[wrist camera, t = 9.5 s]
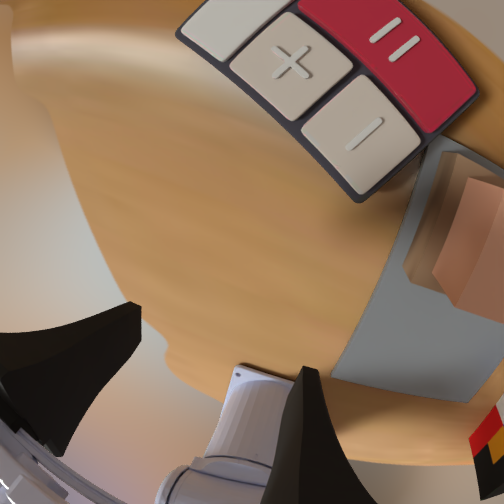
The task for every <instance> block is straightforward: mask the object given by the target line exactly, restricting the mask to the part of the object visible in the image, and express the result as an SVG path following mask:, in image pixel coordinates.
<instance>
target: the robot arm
mask: <svg viewBox="0 0 504 504" xmlns="http://www.w3.org/2000/svg"><path fill="white" fill-rule="evenodd" d="M140 342H141V306H140V305H137V304H135V303H133V302H131V301H130V302H127V303H124V304H122V305H119V306H117V307H114V308H112V309H109V310H107V311H104V312H101V313H99V314H96V315H94V316H91V317H88V318H85V319H83V320H79V321H77V322H73V323H71V324H67V325H63V326H60V327H55V328H51V329H46V330H39V331H32V332H21V333H0V482H1V483H2V484H3V486H2V487H1V488H0V504H69V503H68V502H67V501H65V498H66V497H67V496H68V492H67V491H66V490H65V489H64V488H62V487H61V486H60V485H59V484H58V483H57V482H56V481H55V480H54V479H53V478H52V477H51V476H50V475H49V474H48V473H46V472H45V471H44V470H43V469H42V468H41V467H40V466H38V462H39V463H41V464H42V465H43V466H44V467H46V468H47V469H48V470H49V471H50V472H52V473H53V474H54V475H55V476H57V477H58V478H59V479H61V480H62V481H63V482H65V483H66V484H67V485H69V486H70V487H72V488H73V489H74V490H76V491H77V492H79V493H80V494H82V495H83V496H85V497H86V498H88V499H89V500H91V501H92V502H94V503H96V504H127V503H125V502H123V501H121V500H119V499H118V498H116V497H114V496H112V495H110V494H109V493H107V492H105V491H104V490H102V489H100V488H99V487H97V486H96V485H94V484H92V483H91V482H89V481H88V480H86V479H85V478H83V477H82V476H80V475H79V474H77V473H76V472H75V471H73V470H72V469H70V468H69V467H68V466H66V465H65V464H64V463H62V462H61V461H60V460H58V459H57V458H56V457H62V456H63V455H64V453H65V450H66V448H67V446H68V444H69V442H70V440H71V438H72V436H73V434H74V432H75V430H76V428H77V426H78V425H79V423H80V421H81V420H82V418H83V416H84V415H85V413H86V411H87V410H88V408H89V407H90V405H91V404H92V402H93V401H94V399H95V398H96V396H97V395H98V393H99V392H100V391H101V390H102V388H103V387H104V386H105V385H106V384H107V383H108V382H109V381H110V379H111V378H112V377H113V376H114V375H115V374H116V373H117V372H118V370H119V369H120V368H121V367H122V366H123V365H124V364H125V363H126V361H127V360H128V359H129V358H130V357H131V355H132V354H133V352H134V351H135V349H136V348H137V346H138V345H139V343H140ZM238 373H240V374H238ZM36 441H37V442H36ZM42 446H43V447H42ZM47 450H48V451H49V452H48V451H47ZM52 454H53V455H54V456H53V455H52ZM155 504H377V503H376V502H375V501H374V499H373V498H372V497H371V496H370V495H369V493H368V492H367V490H366V489H365V488H364V486H363V485H362V483H361V482H360V481H359V479H358V477H357V475H356V474H355V473H354V471H353V469H352V467H351V466H350V464H349V462H348V460H347V458H346V456H345V454H344V452H343V450H342V448H341V446H340V443H339V441H338V439H337V436H336V434H335V431H334V428H333V425H332V423H331V420H330V417H329V413H328V410H327V406H326V403H325V399H324V395H323V391H322V386H321V382H320V376H319V372H318V370H317V369H314V368H310V367H306V366H303V367H302V369H301V371H300V373H299V375H298V377H297V379H296V381H295V382H293V381H290V380H286V379H283V378H280V377H276V376H273V375H270V374H267V373H264V372H260V371H257V370H254V369H251V368H248V367H245V366H243V365H236V366H235V368H234V371H233V374H232V378H231V381H230V385H229V388H228V392H227V395H226V398H225V402H224V406H223V409H222V412H221V416H220V420H219V423H218V425H217V427H216V429H215V432H214V434H213V436H212V438H211V440H210V443H209V445H208V447H207V449H206V451H205V454H204V456H203V458H200V457H194V459H193V461H192V463H191V465H190V466H188V465H181V466H180V467H177V468H176V469H175V470H173V471H171V472H170V473H169V474H168V475H167V476H166V478H165V479H164V480H163V482H162V484H161V485H160V488H159V490H158V492H157V495H156V499H155Z"/></svg>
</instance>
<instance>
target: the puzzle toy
mask: <svg viewBox="0 0 504 504" xmlns="http://www.w3.org/2000/svg"><path fill="white" fill-rule="evenodd" d="M469 442H470V446H471V450H472V455H473V459H474V464H475V469H476V474H477V480H478V486H479V493H480V500H485V499H488V498H491V497H494V496H497V495H500V494H502V493H504V393H503V395H502V396H501V398H500V399H499V401H498V402H497V403H496V405H495V406H494V407H493V409H492V410H491V412H490V413H489V414H488V415H487V417H486V418H485V419H484V421H483V422H482V423H481V424H480V426H479V427H478V428H477V429H476V430H475V432H474V433H473V434H472V435H471V436H470V438H469Z"/></svg>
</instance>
